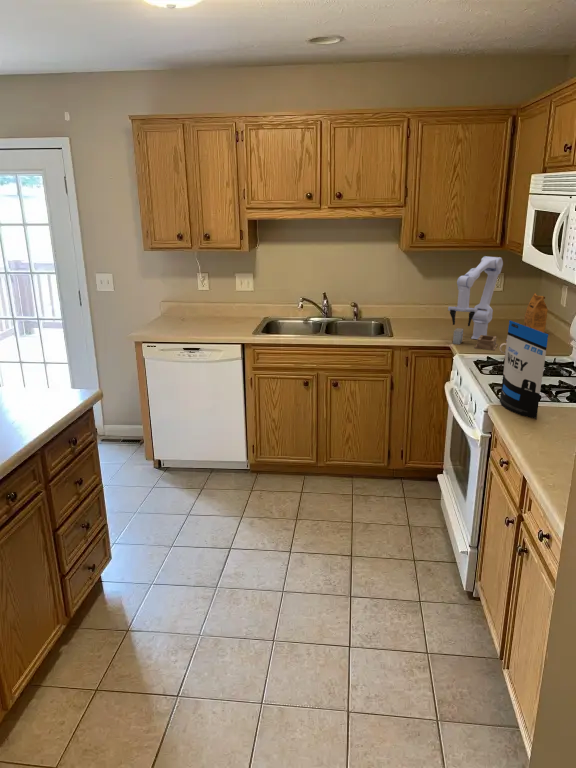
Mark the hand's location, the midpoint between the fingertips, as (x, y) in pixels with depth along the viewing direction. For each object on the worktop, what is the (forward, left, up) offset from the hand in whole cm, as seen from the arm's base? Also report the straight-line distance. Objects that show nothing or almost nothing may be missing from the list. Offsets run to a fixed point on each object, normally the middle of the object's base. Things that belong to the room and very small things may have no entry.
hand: (461, 325), depth 303 cm
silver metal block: (-2, -1, -10) cm, 10 cm away
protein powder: (+93, +37, -10) cm, 101 cm away
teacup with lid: (+20, +28, -10) cm, 36 cm away
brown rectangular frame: (+1, +14, -10) cm, 17 cm away
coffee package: (-45, +33, -10) cm, 57 cm away
